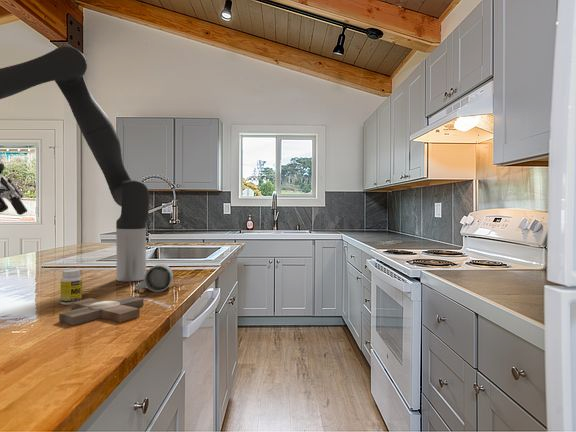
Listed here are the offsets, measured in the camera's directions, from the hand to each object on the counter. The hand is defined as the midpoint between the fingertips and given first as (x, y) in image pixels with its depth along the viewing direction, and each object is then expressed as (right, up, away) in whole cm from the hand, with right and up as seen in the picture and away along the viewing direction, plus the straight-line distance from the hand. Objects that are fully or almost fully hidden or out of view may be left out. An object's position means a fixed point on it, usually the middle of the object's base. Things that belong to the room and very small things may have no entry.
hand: (14, 212), depth 94 cm
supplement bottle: (+13, -24, +3) cm, 27 cm away
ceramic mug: (+29, -23, +19) cm, 41 cm away
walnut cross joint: (+26, -24, -6) cm, 36 cm away
